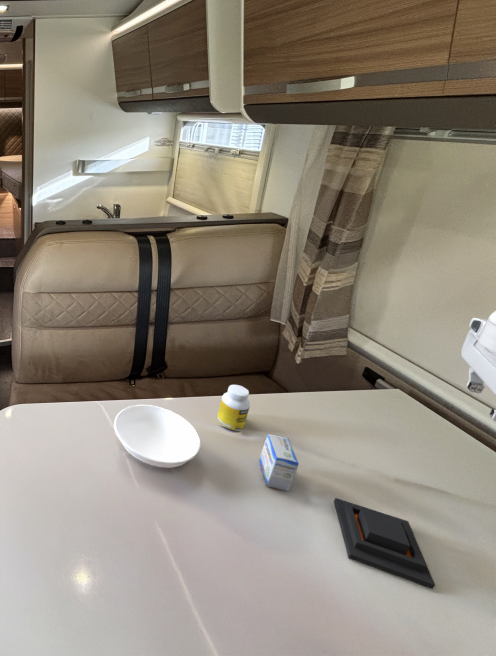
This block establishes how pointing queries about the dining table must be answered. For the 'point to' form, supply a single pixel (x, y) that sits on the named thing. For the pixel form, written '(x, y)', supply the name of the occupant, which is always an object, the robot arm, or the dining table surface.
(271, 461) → the medicine box
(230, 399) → the pill bottle
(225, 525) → the dining table surface
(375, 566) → the picture frame
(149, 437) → the bowl
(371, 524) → the black block
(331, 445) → the dining table surface
